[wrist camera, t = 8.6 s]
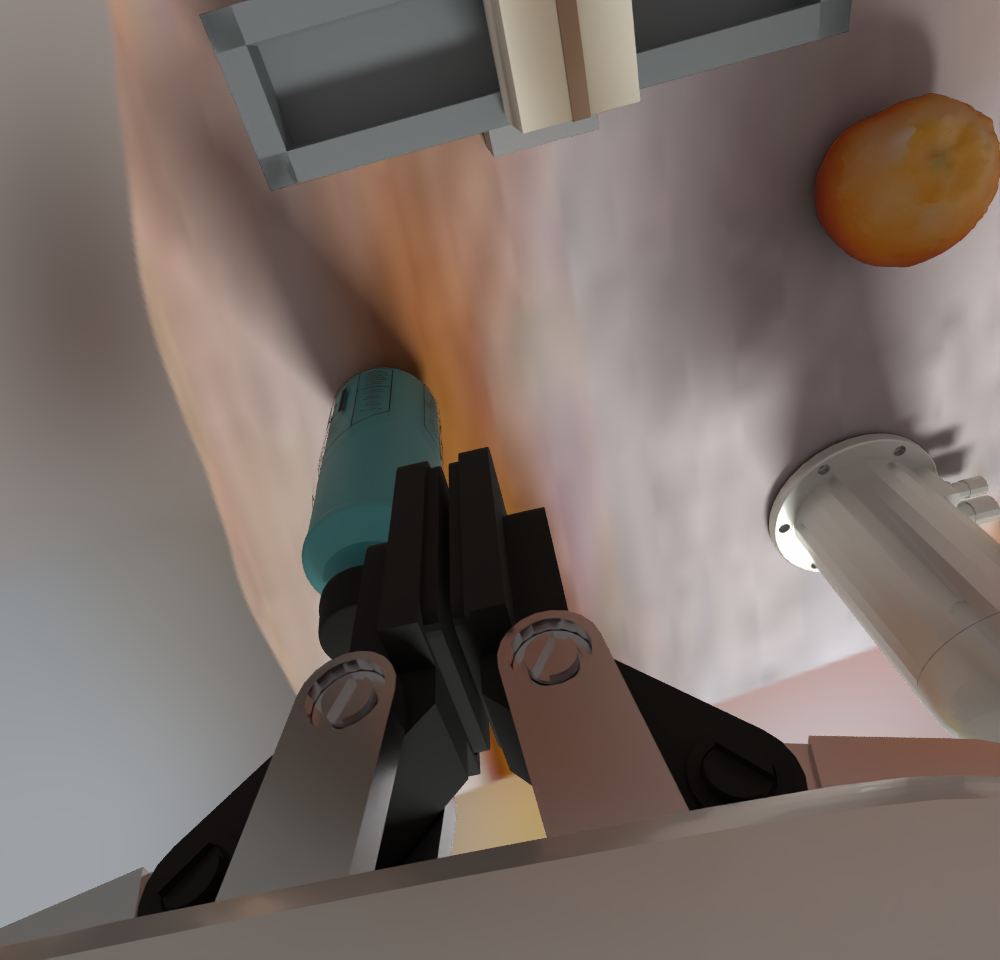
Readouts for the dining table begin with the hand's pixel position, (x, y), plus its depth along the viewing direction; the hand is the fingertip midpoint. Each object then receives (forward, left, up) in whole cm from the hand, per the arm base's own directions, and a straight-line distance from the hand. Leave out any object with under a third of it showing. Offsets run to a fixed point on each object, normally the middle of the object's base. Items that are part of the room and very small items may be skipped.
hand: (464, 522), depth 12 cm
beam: (-6, -7, -27) cm, 29 cm away
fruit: (-24, +4, -28) cm, 37 cm away
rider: (-6, -7, -22) cm, 23 cm away
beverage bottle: (+6, +10, -28) cm, 30 cm away
